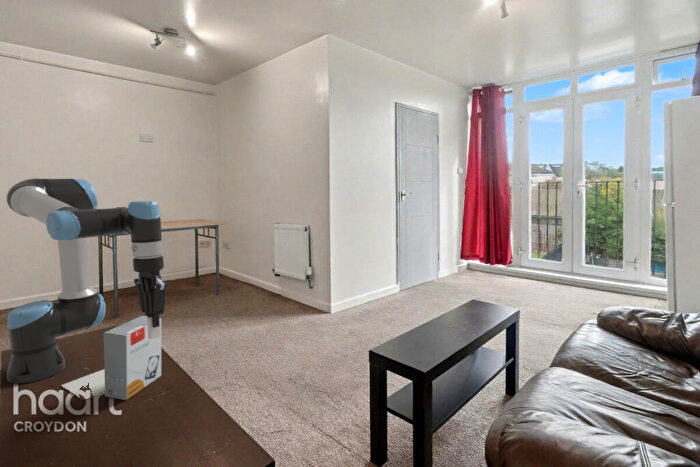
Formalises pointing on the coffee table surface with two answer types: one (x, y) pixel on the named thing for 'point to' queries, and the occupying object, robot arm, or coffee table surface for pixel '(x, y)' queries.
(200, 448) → the coffee table surface
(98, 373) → the mat
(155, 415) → the coffee table surface
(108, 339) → the hard drive box
